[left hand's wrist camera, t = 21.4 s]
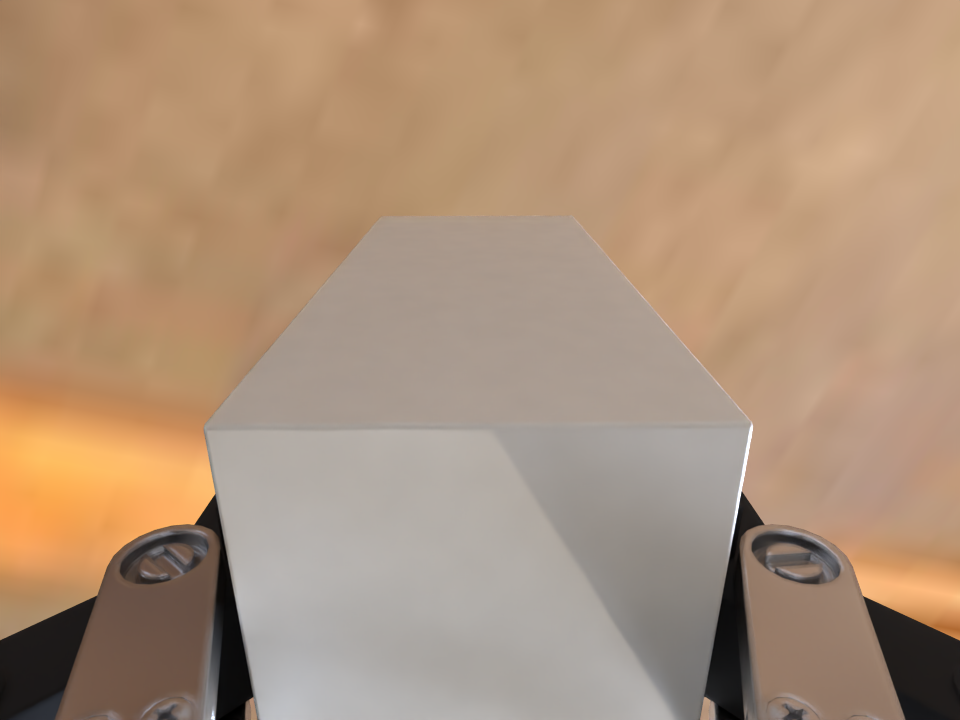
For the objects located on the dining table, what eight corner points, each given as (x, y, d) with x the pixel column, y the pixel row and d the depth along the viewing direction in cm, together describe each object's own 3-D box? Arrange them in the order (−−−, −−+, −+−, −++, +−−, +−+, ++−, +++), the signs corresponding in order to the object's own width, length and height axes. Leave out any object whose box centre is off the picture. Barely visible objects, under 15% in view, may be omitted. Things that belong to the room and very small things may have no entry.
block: (379, 215, 17) (199, 425, 6) (573, 215, 17) (756, 423, 6) (393, 441, 19) (285, 881, 8) (561, 440, 20) (673, 879, 8)
